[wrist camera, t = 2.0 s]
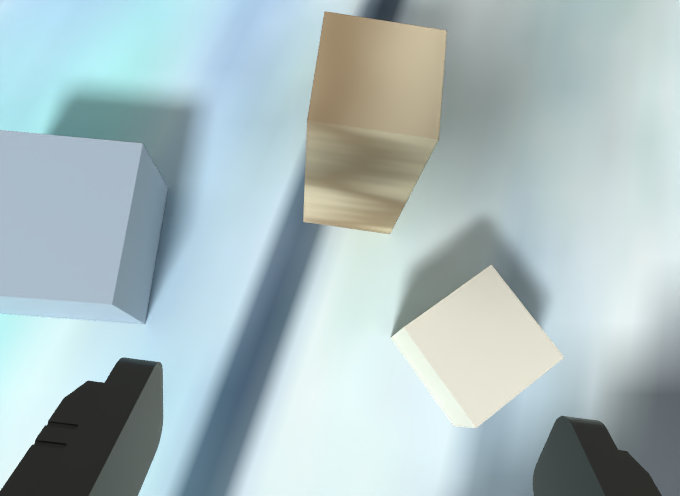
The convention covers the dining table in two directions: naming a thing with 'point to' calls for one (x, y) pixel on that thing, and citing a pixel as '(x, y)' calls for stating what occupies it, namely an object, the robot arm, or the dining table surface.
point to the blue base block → (78, 227)
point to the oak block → (371, 119)
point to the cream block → (476, 349)
